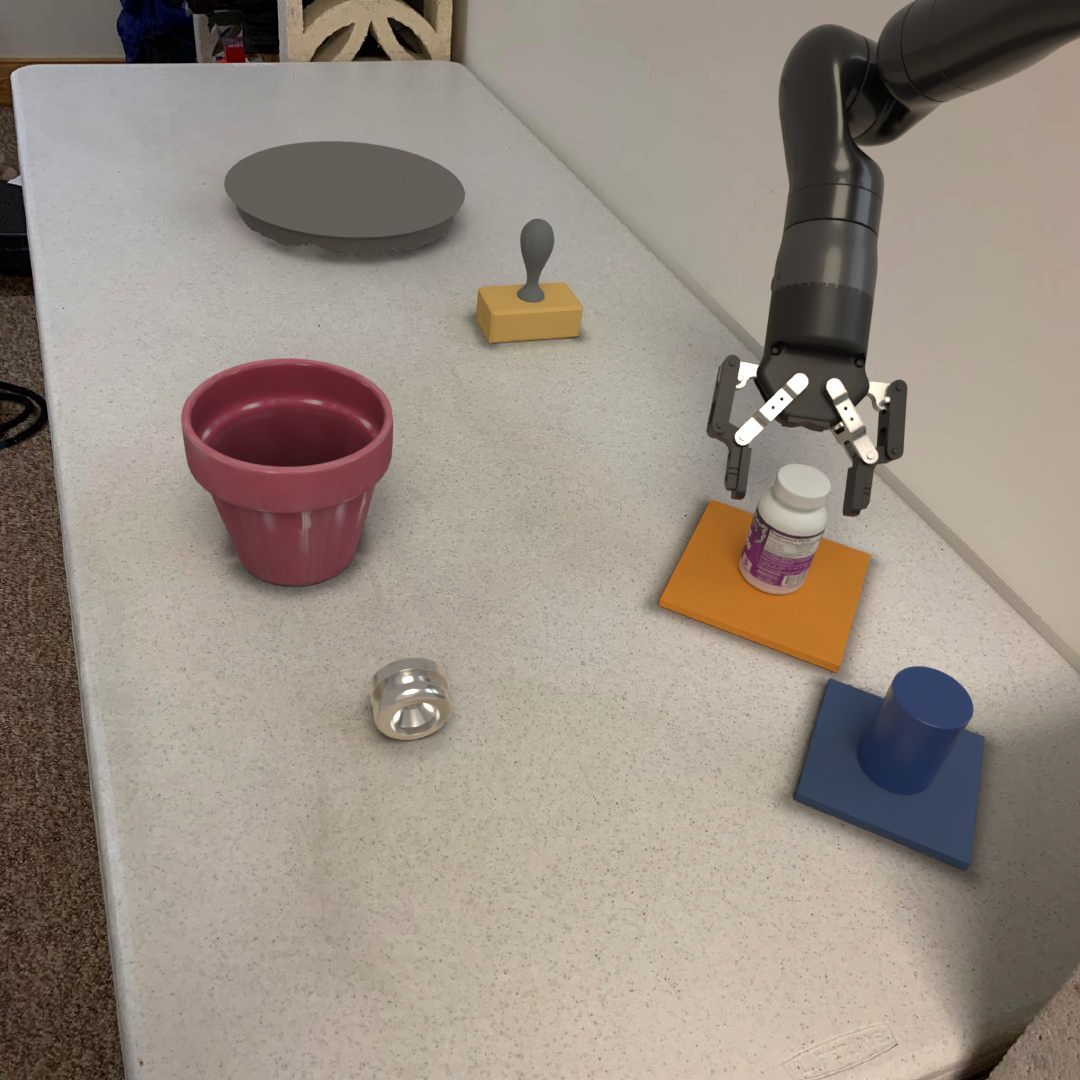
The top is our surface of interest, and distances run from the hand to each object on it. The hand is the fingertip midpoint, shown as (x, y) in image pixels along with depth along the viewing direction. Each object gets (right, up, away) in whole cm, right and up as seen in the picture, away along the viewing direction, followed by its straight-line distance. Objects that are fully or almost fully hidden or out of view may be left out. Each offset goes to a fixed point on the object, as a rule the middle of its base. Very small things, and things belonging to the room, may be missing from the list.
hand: (794, 507), depth 74 cm
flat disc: (-42, +36, +47) cm, 73 cm away
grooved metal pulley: (-28, -15, -8) cm, 32 cm away
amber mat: (-1, -6, +6) cm, 8 cm away
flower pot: (-38, -3, +3) cm, 38 cm away
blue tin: (+5, -17, -8) cm, 20 cm away
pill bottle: (-1, -5, +5) cm, 8 cm away
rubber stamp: (-20, +20, +32) cm, 43 cm away
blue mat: (+5, -18, -7) cm, 20 cm away
